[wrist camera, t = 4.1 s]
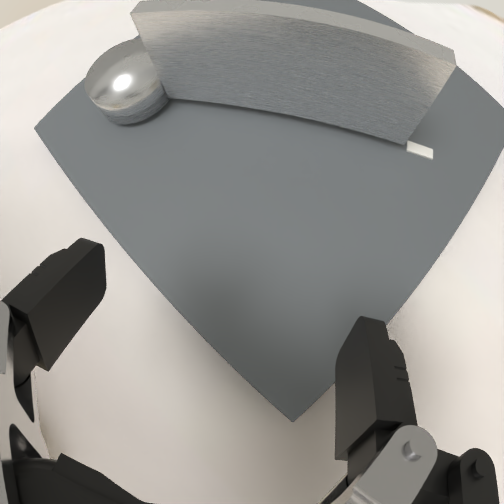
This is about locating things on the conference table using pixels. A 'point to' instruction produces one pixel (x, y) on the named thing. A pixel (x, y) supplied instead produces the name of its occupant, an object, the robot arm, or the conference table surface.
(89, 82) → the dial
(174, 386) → the conference table surface
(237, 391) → the conference table surface
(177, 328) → the conference table surface
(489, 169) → the dial plate
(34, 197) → the conference table surface
